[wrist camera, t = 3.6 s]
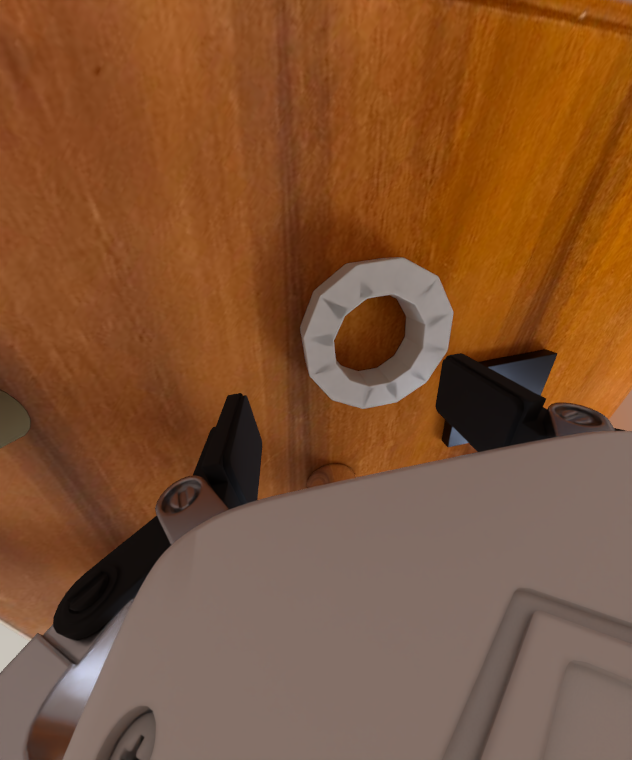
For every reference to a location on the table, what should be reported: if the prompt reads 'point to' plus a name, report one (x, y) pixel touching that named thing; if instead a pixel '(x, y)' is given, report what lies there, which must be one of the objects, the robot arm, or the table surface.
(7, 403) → the olive pawn figure
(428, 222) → the table surface
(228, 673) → the robot arm
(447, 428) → the post
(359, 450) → the table surface
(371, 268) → the tape roll
